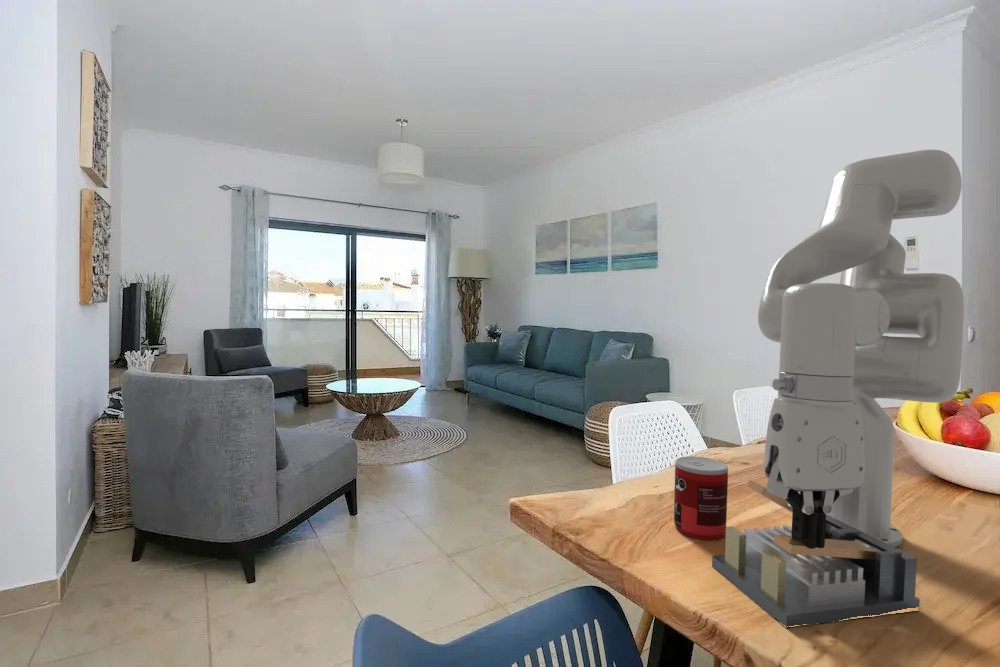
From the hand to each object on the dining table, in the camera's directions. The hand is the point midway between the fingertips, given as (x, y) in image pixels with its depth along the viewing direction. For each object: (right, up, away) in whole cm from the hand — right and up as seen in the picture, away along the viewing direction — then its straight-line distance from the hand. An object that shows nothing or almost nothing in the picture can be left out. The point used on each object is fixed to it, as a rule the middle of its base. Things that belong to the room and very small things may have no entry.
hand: (807, 543), depth 61 cm
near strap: (+3, -2, +1) cm, 4 cm away
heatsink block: (+3, -8, +5) cm, 10 cm away
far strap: (+3, +1, +8) cm, 9 cm away
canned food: (-4, -7, +22) cm, 24 cm away
